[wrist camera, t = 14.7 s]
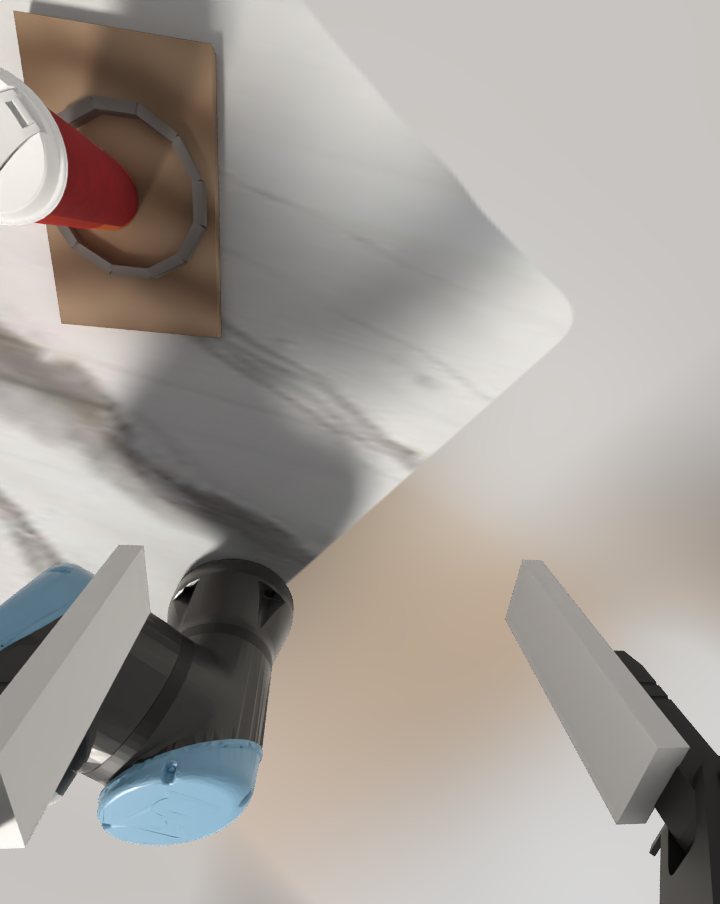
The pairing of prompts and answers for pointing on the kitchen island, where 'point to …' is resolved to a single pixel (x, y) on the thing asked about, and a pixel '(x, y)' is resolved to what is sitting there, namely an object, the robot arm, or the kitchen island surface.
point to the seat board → (136, 172)
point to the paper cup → (56, 169)
